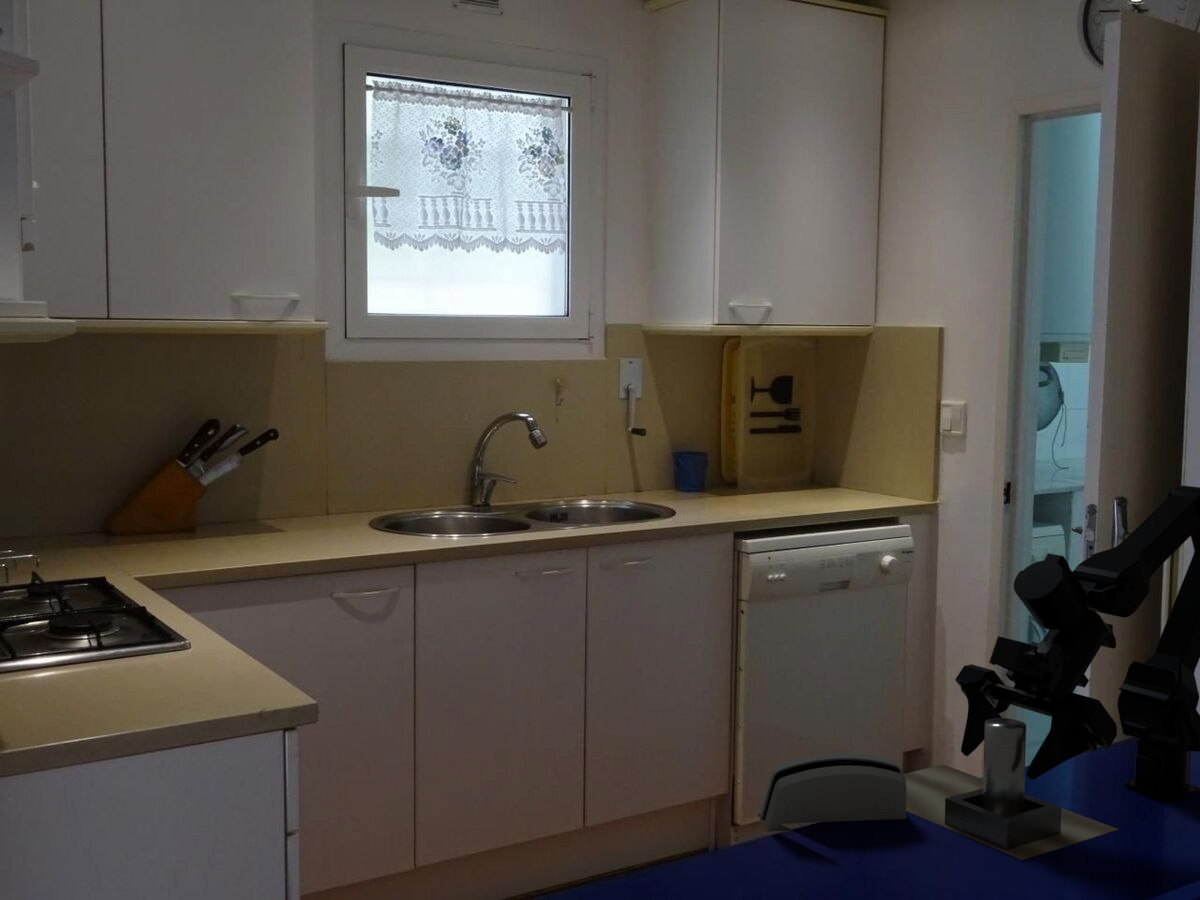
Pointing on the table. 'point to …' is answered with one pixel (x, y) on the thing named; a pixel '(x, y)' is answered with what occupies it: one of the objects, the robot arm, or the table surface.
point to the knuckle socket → (1003, 820)
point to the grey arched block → (833, 790)
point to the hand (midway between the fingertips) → (995, 765)
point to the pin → (1004, 766)
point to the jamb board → (946, 782)
